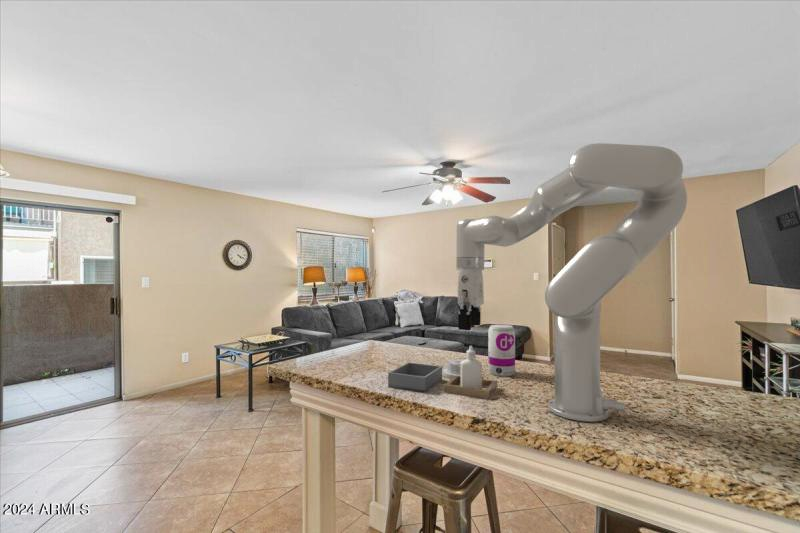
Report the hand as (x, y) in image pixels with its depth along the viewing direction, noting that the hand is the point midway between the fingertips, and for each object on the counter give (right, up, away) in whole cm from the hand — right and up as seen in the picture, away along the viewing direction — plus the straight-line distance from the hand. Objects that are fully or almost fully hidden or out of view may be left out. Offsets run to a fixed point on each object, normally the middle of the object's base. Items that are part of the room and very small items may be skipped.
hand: (469, 327), depth 99 cm
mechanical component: (-1, -18, +15) cm, 23 cm away
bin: (-14, -17, +6) cm, 23 cm away
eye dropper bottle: (0, -17, 0) cm, 17 cm away
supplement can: (+13, -18, +16) cm, 28 cm away
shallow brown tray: (0, -17, 0) cm, 17 cm away
